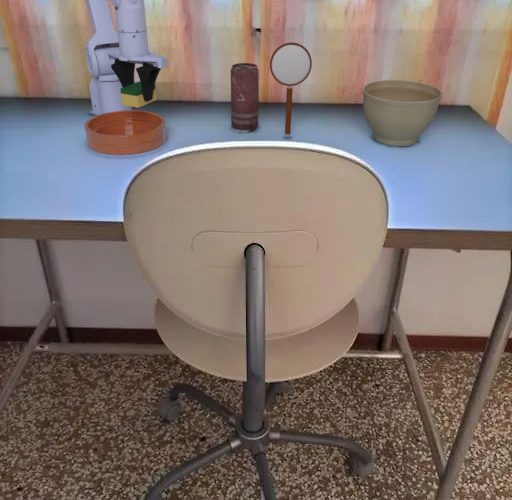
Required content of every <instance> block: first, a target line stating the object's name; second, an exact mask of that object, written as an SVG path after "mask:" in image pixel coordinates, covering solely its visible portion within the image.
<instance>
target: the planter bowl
mask: <svg viewBox="0 0 512 500" xmlns="http://www.w3.org/2000/svg"><path fill="white" fill-rule="evenodd" d="M362 96H363V97H362V101H363V102H362V105H363V113H364V117H365V120H366V122H367V124H368V126H369V128H370V130H371V131H372V134H373V135H372V136H373V137H372V138H373V139H374V140H375V141H376V142H378V143H380V144H383V145H386V146H391V147H407V146H411V145H414V144H416V143H418V140H419V138H420V136H421V135H422V134H423V133H424V132H425V131H426V130H427V129H428V128H429V126H430V125H431V123H432V122H433V120H434V118H435V116H436V114H437V111H438V109H439V104H440V101H441V99H442V96H443V92H442V91H441V89H439V88H438V87H436V86H434V85H432V84H428V83H425V82H420V81H413V80H403V79H402V80H401V79H385V80H376V81H372V82H369V83H366V84H365V85H364V86H363V87H362Z"/></svg>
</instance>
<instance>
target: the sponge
mask: <svg viewBox="0 0 512 500" xmlns="http://www.w3.org/2000/svg"><path fill="white" fill-rule="evenodd" d="M120 90H121V99H122V105H126V106H131V107H132V108H137V109H138V108H141V107H143V106H146V105H148V104H151V103H153V102H155V101H157V89H156V85H155V86H154V91H153V98H152V100H149V101H147V102H146V101H144V98H143V94H142V86H141V82H140V80H139V81H137V82H134V84H131V85H129V86H126V87H123V88H121V89H120Z"/></svg>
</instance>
